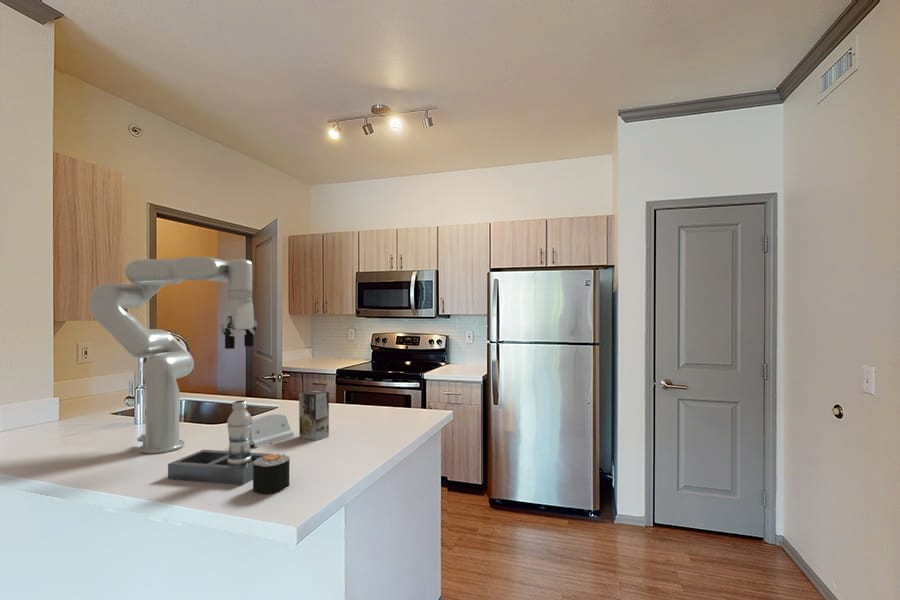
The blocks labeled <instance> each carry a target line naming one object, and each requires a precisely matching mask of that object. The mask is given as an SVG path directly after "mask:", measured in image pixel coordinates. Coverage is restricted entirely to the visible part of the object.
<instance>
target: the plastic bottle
mask: <svg viewBox="0 0 900 600" xmlns="http://www.w3.org/2000/svg"><path fill="white" fill-rule="evenodd" d="M231 408H232V412H231V413H230V415H229V417H228V418H227V423H226V425H227V430H228V441H229V442H228V451H229V455H228V460H227V465H231V466H245V465H247V464H249V463H251V462H252V457H251V453H252V452H251V446H250V433H251V426H252V421H253V417H252V416H251V415H252V414H250V412H249V411H248V410H247V408H248V402H247V400H246V399H245V400H241V399H239V400H235V401H232V407H231Z"/></svg>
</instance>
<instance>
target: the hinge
mask: <svg viewBox="0 0 900 600" xmlns="http://www.w3.org/2000/svg"><path fill="white" fill-rule="evenodd" d="M291 437H292V438H295V434H294V431H293V430H291V427H290V423H289V421H288V418H287V416H286V415H285V414H267V415H262V416H260V417H257V418H255V419H252V426H251V433H250V445H251V446H253V447H254V448H255V447H259V446H262V445H266V444H269V445H271V444H270V443H272V444H275V443H274V442H276V443H278V442H277V441H279V442H281V441H280V440H282V441H285V440H284V439H286V440H289V439H292V438H291ZM288 438H289V439H288ZM266 446H267V445H266ZM262 447H263V446H262ZM259 448H260V447H259Z"/></svg>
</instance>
